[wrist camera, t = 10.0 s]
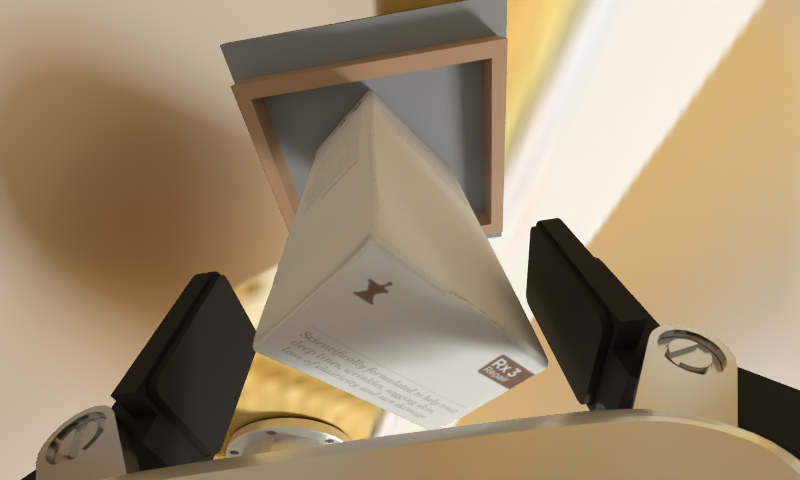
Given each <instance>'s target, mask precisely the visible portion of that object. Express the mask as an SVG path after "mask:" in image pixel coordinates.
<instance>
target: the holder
mask: <svg viewBox="0 0 800 480" xmlns="http://www.w3.org/2000/svg"><path fill="white" fill-rule="evenodd" d="M506 25H507V0H463V1H457V2H452V3H446V4H440V5H435V6H429V7H424V8H418V9H413V10H407V11H402V12H396V13H390V14H385V15H379V16H374V17H369V18H363V19H357V20H351V21H347V22H340V23H335V24H329V25H324V26H319V27H313V28H308V29H302V30H296V31H290V32H285V33H279V34H274V35H268V36H263V37H258V38H251V39H246V40H241V41H235V42H229V43H225V44H222V45H220V47H221V49H222V52H223V54H224V57H225V59H226V62H227V64H228V67H229V70H230V72H231V75H232V77H233V80H234V82H235V84H234V85H232V86H231V88H232V91H233V93H234V96H235V98H236V101H237V103H238V106H239V108H240V111H241V113H242V116H243V118H244V121H245V123H246V126H247V128H248V131H249V133H250V135H251V138H252V141H253V143H254V146H255V148H256V151H257V153H258V156H259V158H260V161H261V163H262V166H263V168H264V171H265V173H266V176H267V178H268V180H269V183H270V186H271V188H272V191H273V193H274V196H275V198H276V200H277V203H278V205H279V208H280V210H281V213H282V215H283V218H284V220H285V223H286V225H287V228H288V230H289V233H290V230H291V227H292V224H293V221H294V218H295V215H296V212H297V209H298V206H299V203H300V200H301V197H302V194H303V192H304V189H305V186H306V183H307V179H308V176H309V174H310V171H311V168H312V165H313V162H314V159H315V155H316V152H317V150H318V148H319V147H320V146H321V145H322V143H323V142H324V141H325V140H326V139H327V137H328V136H329V135H330V134H331V133H332V132H333V130H334V129H335V128H336V127H337V126H338V125H339V123H340V122H341V121H342V120H343V119H344V118H345V116H346V115H347V114H348V113H349V112H350V111H351V110H352V108H353V107H354V106H355V105H356V104H357V103H358V102H359V101H360V99H361V98H362V97H363V96H364V95H365V93H366V92H368V91H369V90H370V91H372V92H374V93H375V94H376V95H377V96H378V97H379V98H380V99H381V100H382V101H383V102H384V103H385V104H386V105H387V106H388V107H389V108H390V109H391V110H392V111H393V112H394V113H395V114H396V115H397V116H398V117H399V118H400V119H401V120H402V121H403V122H404V123H405V124H406V125H407V126H408V127H409V128H410V129H411V130H412V131H413V132H414V133H415V134H416V135H417V136H418V137H419V138H420V139H422V140H423V141H424V142H425V143H426V144H427V145H428V146H429V147H430V148H431V149H432V150H433V151H434V152H435V153H436V154H437V155H438V156H439V157H440V158H441V159H442V160H443V161H444V162H445V163H446V164H447V165H448V166H449V167H450V168H451V169H452V171H453V173H454V175H455V177H456V179H457V180H458V182H459V184H460V186H461V188H462V190H463V192H464V194H465V196H466V198H467V200H468V202H469V204H470V206H471V208H472V210H473V212H474V214H475V216H476V218H477V220H478V222H479V224H480V226H481V228H482V230H483V231H484V233H485V235H486V237H487V238H492V237H499V236H501V232H502V229H503V191H504V152H505V114H506V75H507V38H506Z"/></svg>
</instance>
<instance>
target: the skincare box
mask: <svg viewBox="0 0 800 480" xmlns="http://www.w3.org/2000/svg"><path fill="white" fill-rule="evenodd" d="M253 349H254V351H256V352H258V353H260V354H262V355H264V356H267V357H269V358H271V359H274V360H276V361H278V362H281V363H283V364H285V365H287V366H290V367H292V368H294V369H296V370H298V371H301V372H303V373H305V374H307V375H310V376H312V377H314V378H316V379H318V380H321V381H323V382H325V383H327V384H329V385H332V386H334V387H336V388H338V389H340V390H343V391H345V392H347V393H350V394H352V395H354V396H356V397H358V398H360V399H362V400H365V401H367V402H369V403H371V404H374V405H376V406H378V407H380V408H382V409H385V410H387V411H389V412H391V413H394V414H396V415H398V416H400V417H402V418H405V419H407V420H409V421H411V422H414V423H416V424H418V425H420V426H422V427H424V428H426V429H428V430H436V429H440V428H442V427H444V426H446V425H448V424H450V423H452V422H454V421H456V420H457V419H459V418H461V417H463V416H464V415H466V414H468V413H469V412H471V411H473V410H475V409H476V408H478V407H480V406H481V405H483V404H485V403H487V402H488V401H490V400H492V399H494V398H495V397H497V396H499V395H501V394H502V393H504V392H506V391H507V390H509V389H511V388H513V387H514V386H516V385H518V384H519V383H521V382H523V381H525V380H526V379H528V378H530V377H531V376H533V375H535V374H537V373H539V372H541V371H543V370H544V369H545V368H546V367H547V366H548V359H547V357H546V355H545V353H544V350H543V349H542V346H541V344H540V342H539V340H538V338H537V336H536V334H535V332H534V330H533V328H532V326H531V324H530V322H529V320H528V318H527V316H526V314H525V312H524V310H523V308H522V306H521V304H520V302H519V300H518V298H517V296H516V294H515V292H514V290H513V288H512V286H511V284H510V282H509V280H508V278H507V276H506V274H505V272H504V271H503V269H502V267H501V265H500V263H499V261H498V259H497V257H496V255H495V253H494V251H493V249H492V247H491V245H490V243H489V241H488V239H487V237H486V235H485V233H484V231H483V230H482V228H481V226H480V224H479V222H478V220H477V218H476V216H475V214H474V212H473V210H472V208H471V206H470V204H469V202H468V200H467V198H466V196H465V194H464V192H463V190H462V188H461V186H460V184H459V182H458V180H457V179H456V177H455V175H454V173H453V171H452V169H451V168H450V167H449V166H448V165H447V164H446V163H445V162H444V161H443V160H442V159H441V158H440V157H439V156H438V155H437V154H436V153H435V152H434V151H433V150H432V149H431V148H430V147H429V146H428V145H427V144H426V143H425V142H424V141H423V140H422V139H420V138H419V137H418V136H417V135H416V134H415V133H414V132H413V131H412V130H411V129H410V128H409V127H408V126H407V125H406V124H405V123H404V122H403V121H402V120H401V119H400V118H399V117H398V116H397V115H396V114H395V113H394V112H393V111H392V110H391V109H390V108H389V107H388V106H387V105H386V104H385V103H384V102H383V101H382V100H381V99H380V98H379V97H378V96H377V95H376V94H375V93H374V92H372V91H370V90H369V91H368V92H366V93H365V95H364V96H363V97H362V98H361V99H360V101H359V102H358V103H357V104H356V105H355V106H354V107H353V108H352V110H351V111H350V112H349V113H348V114H347V115H346V116H345V118H344V119H343V120H342V121H341V122H340V123H339V125H338V126H337V127H336V128H335V129H334V130H333V132H332V133H331V134H330V135H329V136H328V137H327V139H326V140H325V141H324V142H323V143H322V145H321V146H320V147H319V148H318V150H317V152H316V155H315V159H314V162H313V165H312V168H311V171H310V174H309V176H308V179H307V183H306V186H305V189H304V192H303V194H302V197H301V200H300V203H299V206H298V209H297V212H296V215H295V218H294V221H293V224H292V227H291V230H290V233H289V236H288V239H287V242H286V245H285V248H284V251H283V254H282V257H281V259H280V262H279V265H278V269H277V272H276V275H275V278H274V282H273V286H272V289H271V291H270V294H269V296H268V299H267V302H266V305H265V307H264V310H263V313H262V316H261V319H260V322H259V325H258V328H257V331H256V334H255V337H254V342H253Z"/></svg>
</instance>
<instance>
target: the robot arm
mask: <svg viewBox="0 0 800 480" xmlns="http://www.w3.org/2000/svg"><path fill="white" fill-rule="evenodd" d="M526 298H527V302H528V305H529V307H530V309H531V311H532V313H533V315H534V317H535V319H536V321H537V322H538V324H539V326H540V328H541V330H542V332H543V334H544V336H545V338H546V340H547V342H548V344H549V346H550V348H551V350H552V351H553V353H554V355H555V357H556V359H557V361H558V363H559V365H560V367H561V369H562V371H563V373H564V375H565V377H566V379H567V381H568V382H569V384H570V386H571V388H572V390H573V392H574V394H575V396H576V398H577V400H578V401H579V402H580V403H581V404H587V406H588V408H589V410H590V411H583V412H575V413H565V414H556V415H548V416H539V417H530V418H521V419H513V420H505V421H498V422H490V423H483V424H475V425H467V426H460V427H451V428H444V429H436V430H428V431H421V432H413V433H406V434H398V435H391V436H383V437H376V438H368V439H361V440H354V441H351V440H350V439H349V438H348V437H347V436H346V435H345V434H344V433H343V432H341V431H340V430H338V429H337V428H334V427H332V426H330V425H328V424H325V423H322V422H319V421H314V420H309V419H302V418H273V419H266V420H261V421H257V422H254V423H251V424H248V425H246V426H244V427H243V428H241V429H239V430H238V431H237V432H235V433H234V434H233V435H232V437H231V439H230V440H229V443H228V446H227V449H226V458H224V459H217V460H213V458H214V455H215V454H217V453H218V452H219V451H220V450H221V447H222V445H223V442H224V439H225V436H226V434H227V431H228V428H229V425H230V422H231V420H232V417H233V414H234V411H235V408H236V406H237V403H238V400H239V397H240V394H241V392H242V389H243V386H244V383H245V381H246V378H247V375H248V372H249V369H250V367H251V364H252V361H253V358H254V355H255V353H256V351H254V349H253V342H254V337H255V334H256V330H255V328H254V326H253V325H252V323H251V321H250V319H249V317H248V316H247V314H246V312H245V310H244V308H243V307H242V305H241V303H240V301H239V299H238V298H237V296H236V294H235V292H234V290H233V289H232V287H231V285H230V283H229V282H228V280H227V278H226V277H225V276H224V275H220V274H219V273H218V272H215V271H214V272H208V273H202V274H197V275H195V276H194V277H193V278H192V279H191V281H190V282H189V284H188V285H187V287H186V288H185V289H184V291H183V292H182V294H181V295H180V297H179V298H178V299H177V301H176V302H175V304H174V305H173V307H172V308H171V309H170V311H169V312H168V314H167V315H166V317H165V318H164V319H163V321H162V322H161V324H160V325H159V327H158V328H157V330H156V331H155V332H154V334H153V335H152V337H151V338H150V340H149V341H148V343H147V344H146V346H145V347H144V348H143V350H142V351H141V353H140V354H139V355H138V357H137V358H136V360H135V361H134V363H133V364H132V366H131V367H130V368H129V370H128V371H127V373H126V374H125V376H124V377H123V379H122V380H121V381H120V383H119V384H118V386H117V387H116V389H115V390H114V392H113V393H112V394H111V397H113V398H114V399H115V400H116V402H115V403H114V405H113V406H112V408H110V407H108V406H95V407H92V408H89V409H87V410H84V411H82V412H80V413H79V414H77V415H75V416H73V417H72V418H71V419H69V420H68V421H66V422H65V423H63V425H61V426H60V427H59V428H58V429H57V430H56V431H55V432H53V434H52V435H51V436H50V437H49V438H48V440H47V441H46V442H45V443H44V445H43V447H42V448H41V450H40V452H39V453H38V457H37V461H36V470H35V471H33V472H32V473H30V474H29V475H27V476H26V477H24V478H23V479H22V480H800V390H797V389H794V388H792V387H789V386H787V385H784V384H781V383H779V382H776V381H773V380H770V379H768V378H766V377H763V376H760V375H758V374H754V373H752V372H750V371H747V370H744V369H742V368H739V367H737V363H736V359H735V356H734V355H733V354H732V352H731V351H730V349H729V348H728V347H727V346H725V345H724V344H723V343H722V342H721V341H720V340H719V339H717V338H715V337H714V336H712V335H710V334H708V333H707V332H704V331H702V330H699V329H696V328H694V327H689V326H685V325H677V324H668V325H663V326H660V325H659V324H658V323H657V322H656V321H655V320H654V319H653V317H652V316H651V315H650V314H649V313H648V312H647V311H646V310H645V309H644V307H643V306H642V305H641V304H640V303H639V302H638V301H637V300H636V299H635V297H634V296H633V295H632V294H631V293H630V292H629V291H628V290H627V289H626V288H625V286H624V285H623V284H622V283H621V282H620V281H619V280H618V279H617V277H616V276H615V275H614V274H613V273H612V272H611V271H610V270H609V269H608V268H607V266H606V265H605V264H604V263H603V262H602V261H601V260H600V259H598V258H595V257H593V255H591V253H590V252H589V251H588V250H587V249H586V248H585V246H584V245H583V244H582V243H581V242H580V241H579V240H578V239H577V237H576V236H575V235H574V234H573V233H572V232H571V231H570V229H569V228H568V227H567V226H566V225H565V224H564V223H563V222H562V220H560V219H559V218H555V219H548V220H542V221H538V222H537V224H536V226H535V227H532V228H531V232H530V246H529V260H528V274H527V289H526Z"/></svg>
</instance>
